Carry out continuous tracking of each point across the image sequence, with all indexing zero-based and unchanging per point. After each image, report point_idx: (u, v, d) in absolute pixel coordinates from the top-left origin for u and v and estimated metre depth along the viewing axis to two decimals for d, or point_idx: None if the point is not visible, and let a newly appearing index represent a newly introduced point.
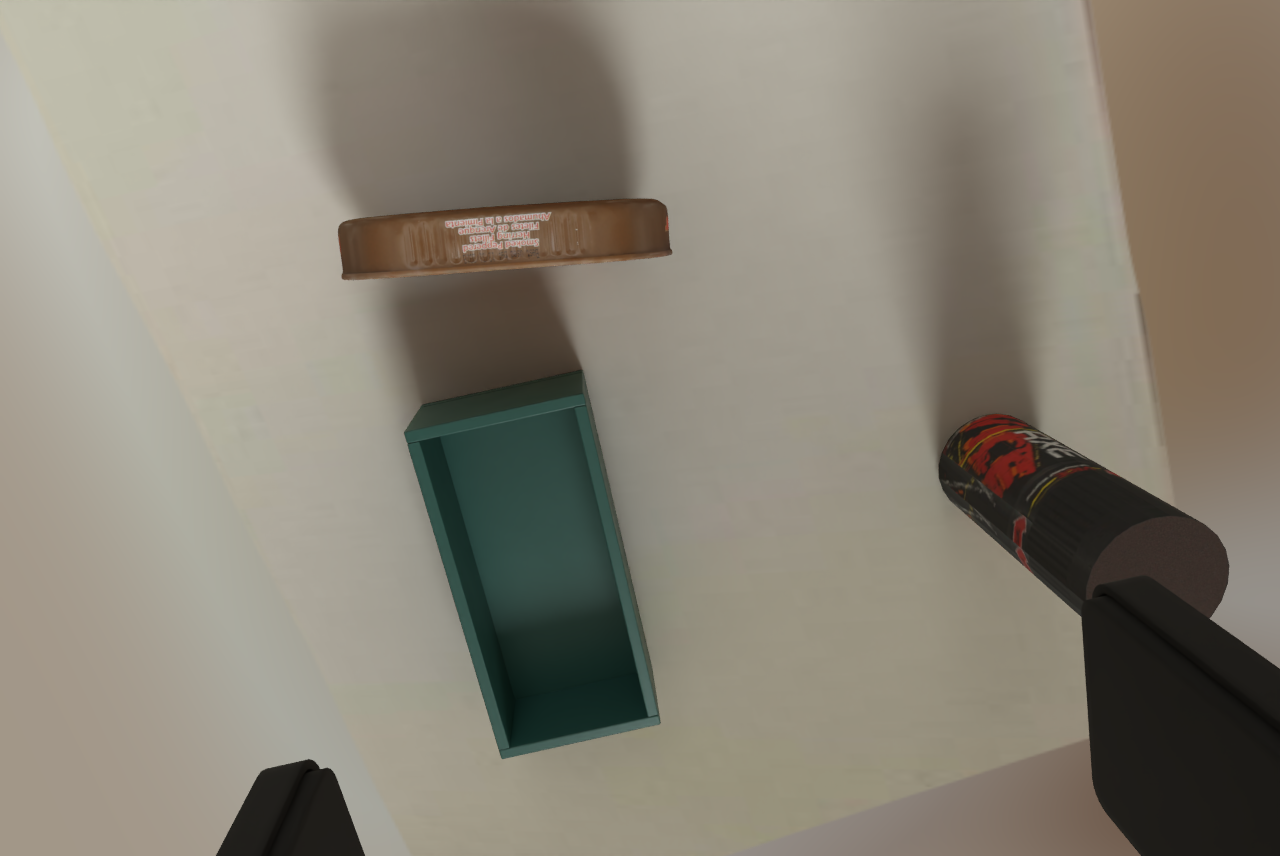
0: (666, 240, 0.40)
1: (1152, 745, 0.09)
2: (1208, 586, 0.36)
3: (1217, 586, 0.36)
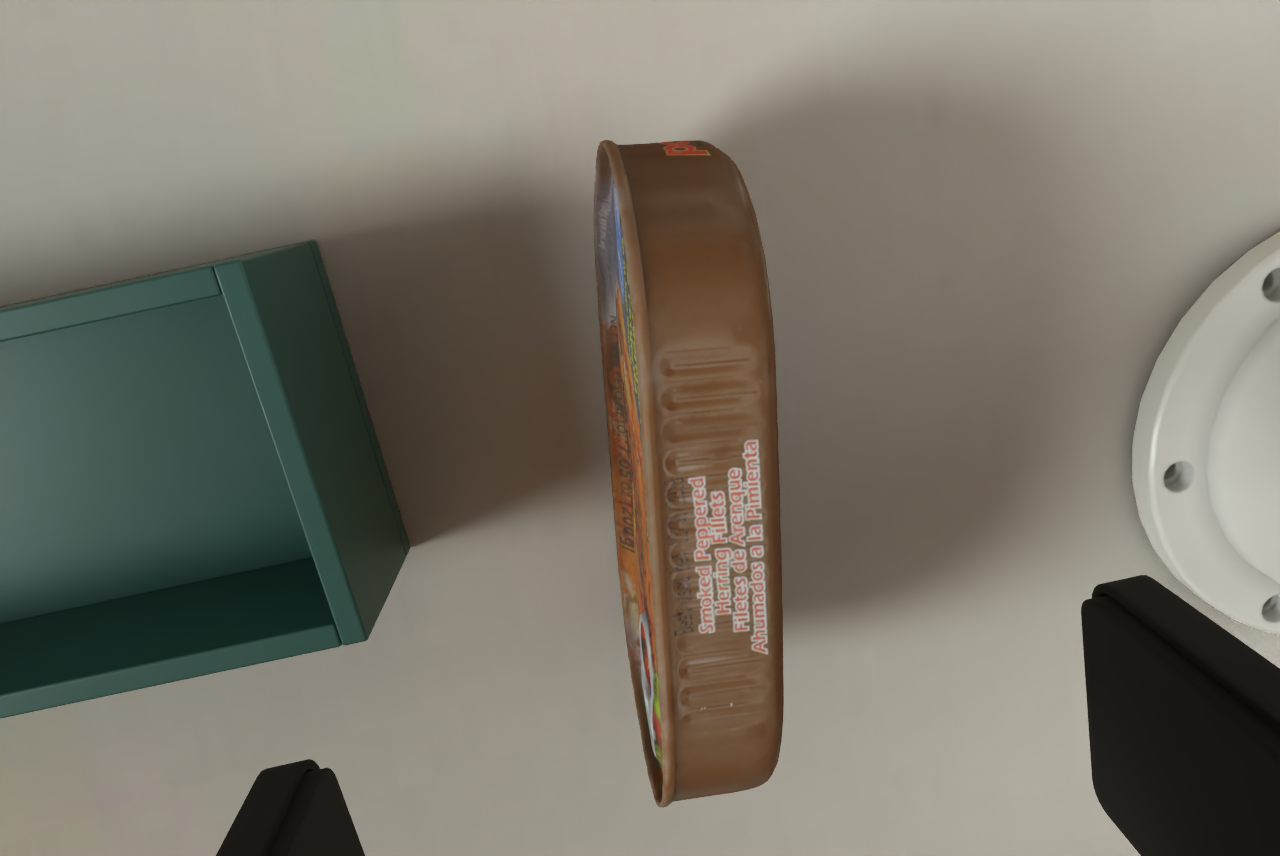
0: None
1: (1152, 745, 0.09)
2: None
3: None
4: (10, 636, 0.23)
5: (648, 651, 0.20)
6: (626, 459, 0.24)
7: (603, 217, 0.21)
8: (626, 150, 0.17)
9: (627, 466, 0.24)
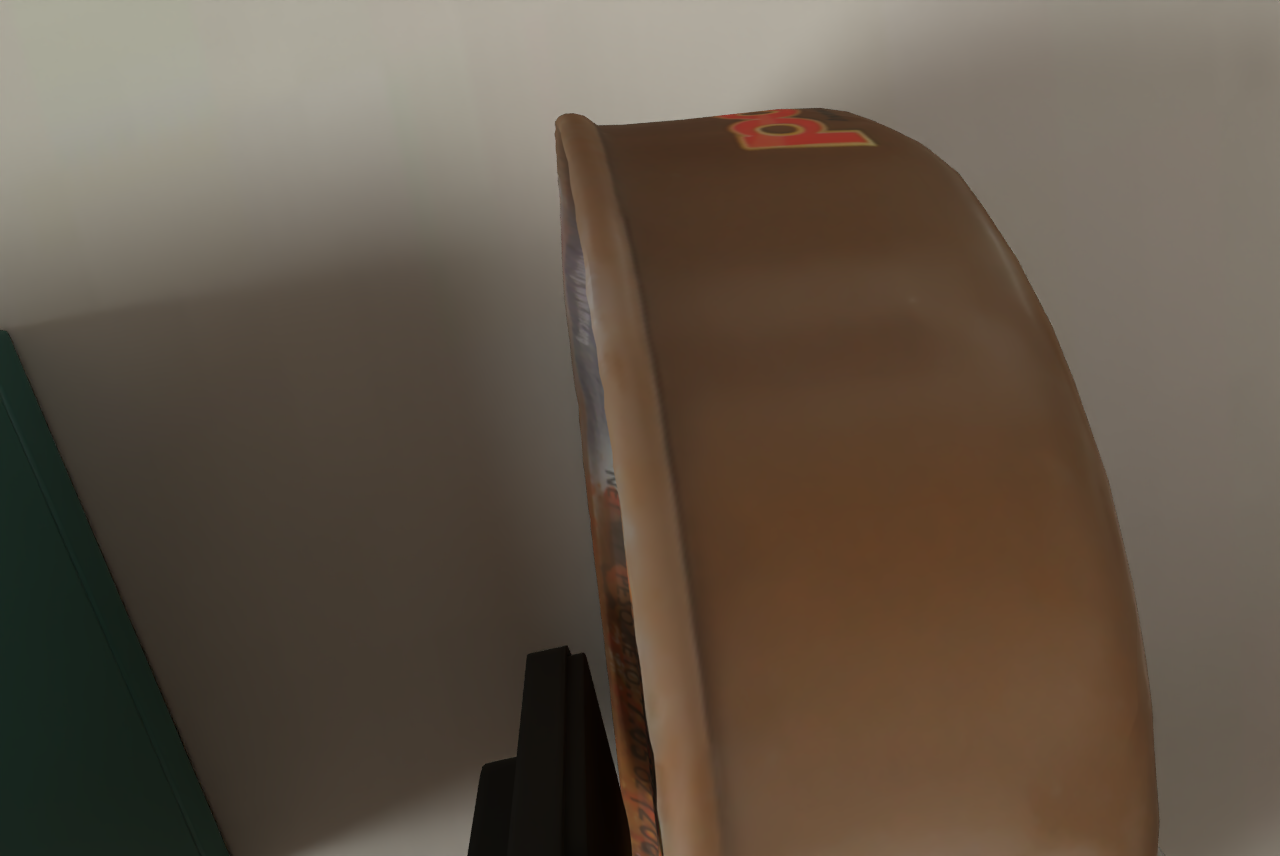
0: None
1: None
2: None
3: None
4: None
5: None
6: (643, 731, 0.12)
7: (583, 285, 0.10)
8: (622, 138, 0.06)
9: (646, 744, 0.12)
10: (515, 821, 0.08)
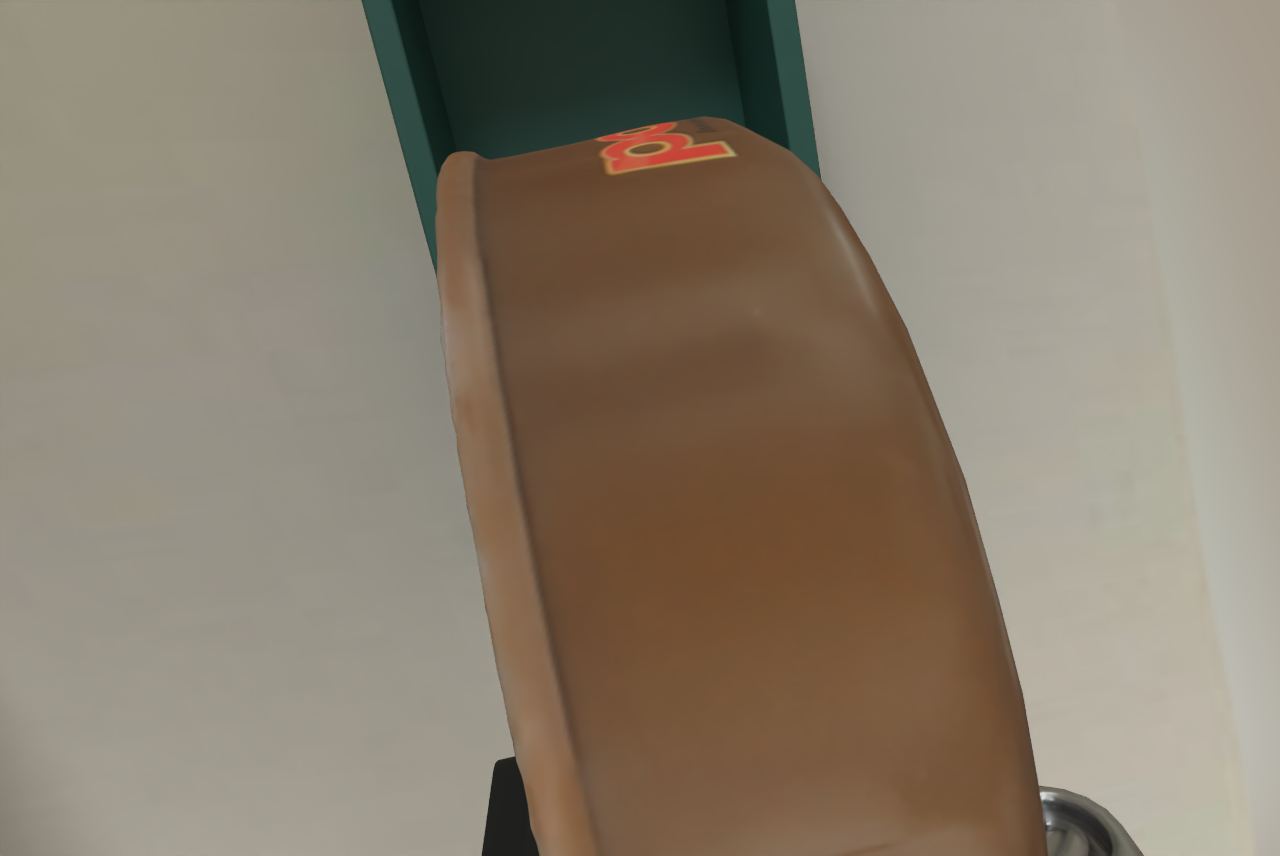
0: None
1: None
2: None
3: None
4: None
5: None
6: None
7: None
8: (497, 175, 0.06)
9: None
10: None
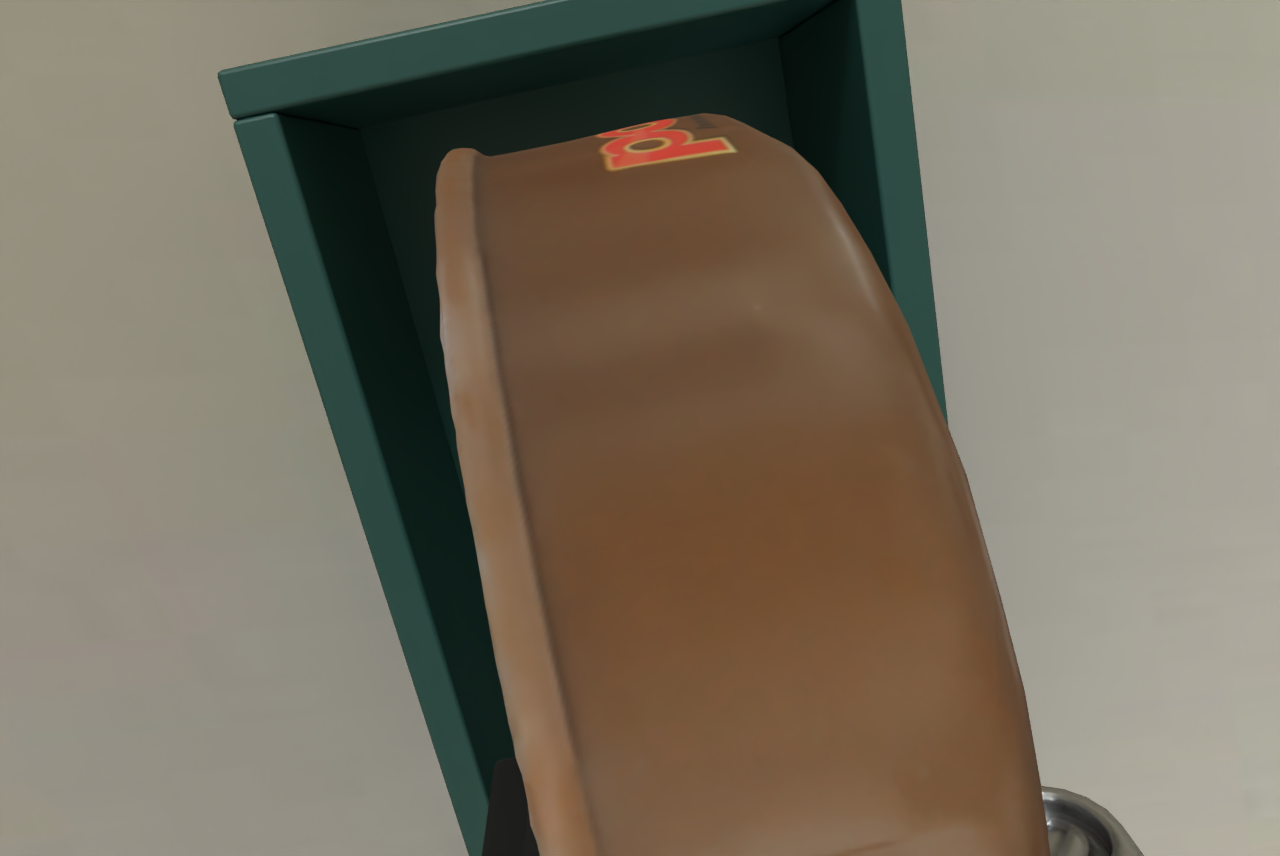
0: None
1: None
2: None
3: None
4: (469, 560, 0.17)
5: None
6: None
7: None
8: (497, 171, 0.06)
9: None
10: None
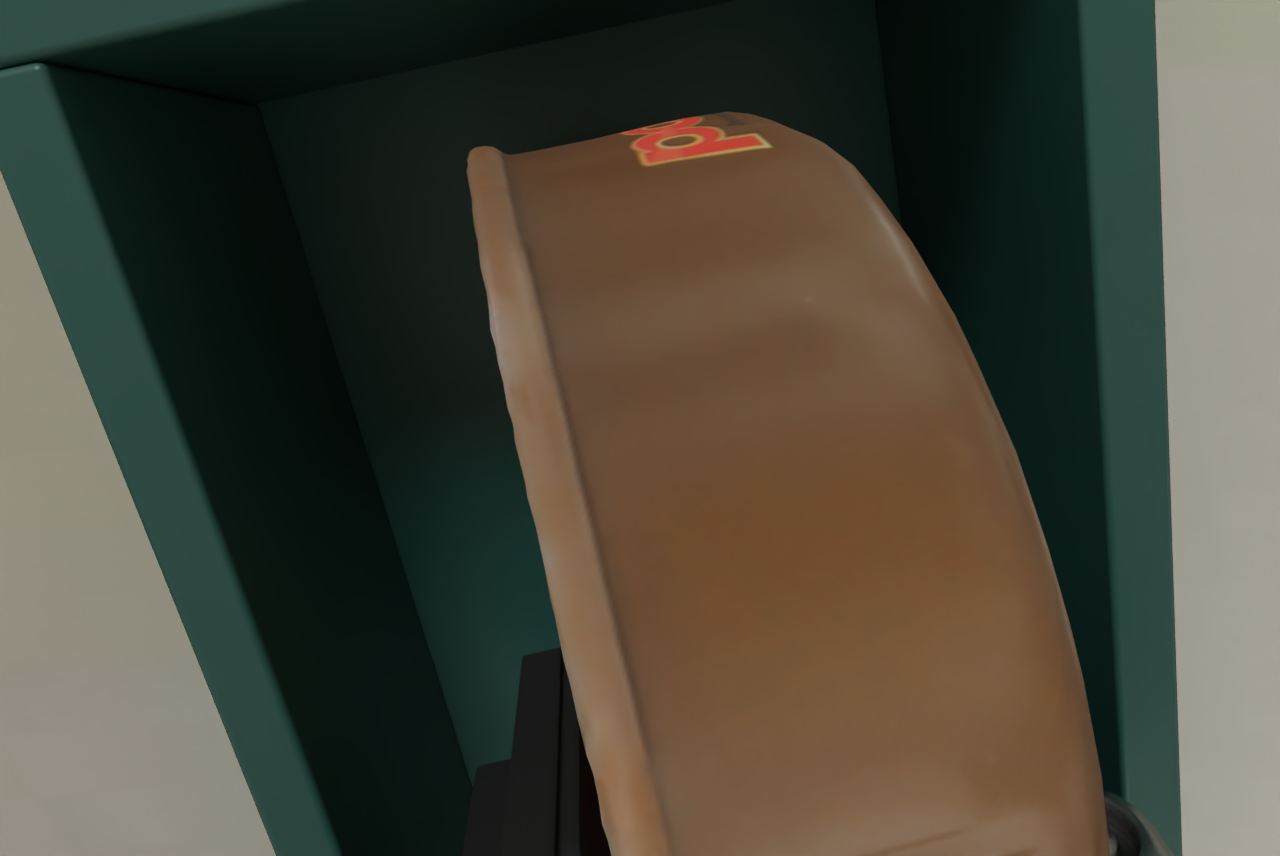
0: None
1: None
2: None
3: None
4: (424, 719, 0.12)
5: None
6: None
7: None
8: (527, 168, 0.06)
9: None
10: (508, 823, 0.08)
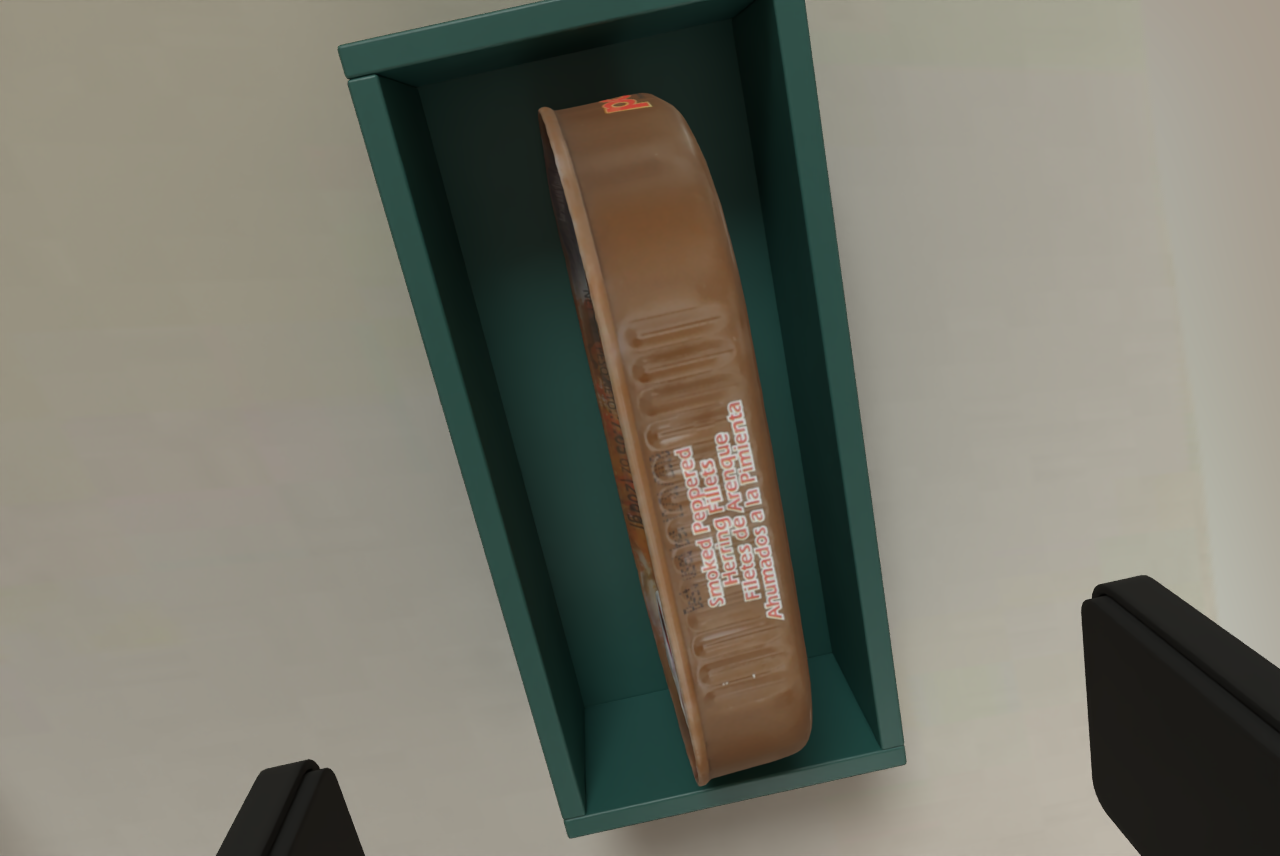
0: None
1: (1152, 745, 0.09)
2: None
3: None
4: (499, 418, 0.22)
5: (667, 629, 0.20)
6: (621, 435, 0.23)
7: (559, 189, 0.20)
8: (563, 114, 0.16)
9: (623, 442, 0.23)
10: None
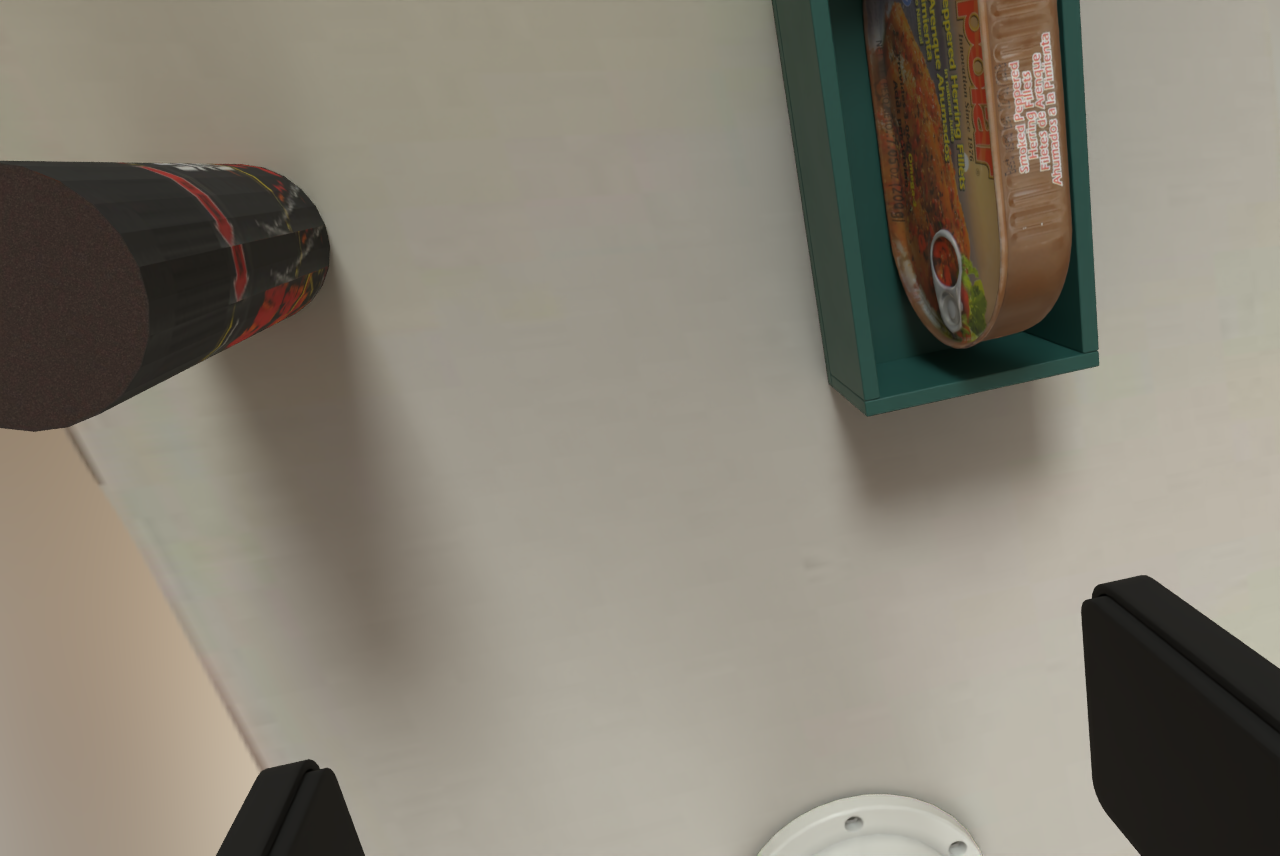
0: (985, 340, 0.30)
1: (1152, 745, 0.09)
2: None
3: None
4: None
5: (954, 243, 0.30)
6: (894, 149, 0.33)
7: None
8: None
9: (895, 154, 0.33)
10: None
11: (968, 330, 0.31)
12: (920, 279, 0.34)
